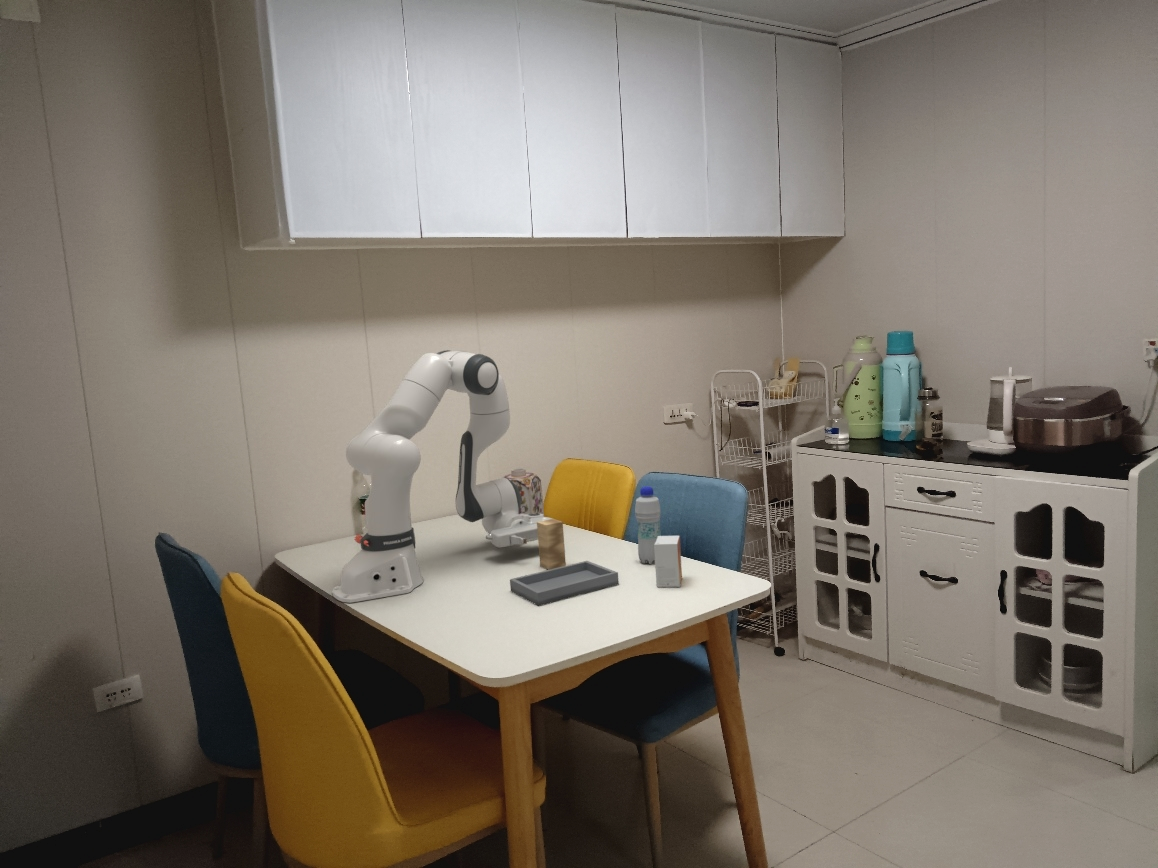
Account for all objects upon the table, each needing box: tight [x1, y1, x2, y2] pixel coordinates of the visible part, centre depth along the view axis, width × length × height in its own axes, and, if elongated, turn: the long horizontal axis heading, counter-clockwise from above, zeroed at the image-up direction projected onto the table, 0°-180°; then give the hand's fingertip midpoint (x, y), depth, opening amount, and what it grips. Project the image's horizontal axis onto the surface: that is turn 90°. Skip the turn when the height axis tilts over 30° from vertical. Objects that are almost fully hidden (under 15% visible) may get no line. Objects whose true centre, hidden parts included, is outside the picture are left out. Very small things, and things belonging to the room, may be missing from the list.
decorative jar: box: [501, 467, 545, 516], centre depth 264 cm, size 12×12×18 cm
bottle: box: [634, 486, 662, 565], centre depth 211 cm, size 7×7×20 cm
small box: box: [654, 535, 683, 588], centre depth 194 cm, size 8×6×10 cm
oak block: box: [537, 518, 567, 570], centre depth 214 cm, size 5×5×12 cm
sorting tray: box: [509, 560, 619, 607], centre depth 195 cm, size 22×14×3 cm, turn 122°
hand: (539, 538), depth 219 cm, fingers open, 8 cm apart
